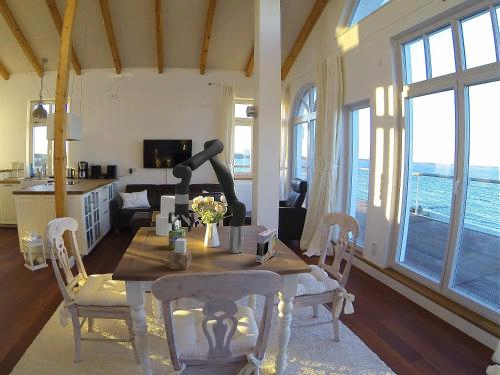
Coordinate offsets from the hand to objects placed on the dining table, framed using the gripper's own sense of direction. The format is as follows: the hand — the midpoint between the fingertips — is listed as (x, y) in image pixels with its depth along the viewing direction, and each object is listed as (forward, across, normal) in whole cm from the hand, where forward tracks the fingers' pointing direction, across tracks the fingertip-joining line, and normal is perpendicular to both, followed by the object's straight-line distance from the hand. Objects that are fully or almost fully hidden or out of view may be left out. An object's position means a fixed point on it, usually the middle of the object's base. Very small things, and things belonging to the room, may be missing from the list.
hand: (181, 231), depth 178 cm
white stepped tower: (+20, +30, -68) cm, 77 cm away
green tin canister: (+20, +12, -34) cm, 41 cm away
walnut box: (+20, 0, 0) cm, 20 cm away
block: (+12, 0, 0) cm, 12 cm away
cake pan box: (+21, -47, -21) cm, 55 cm away
